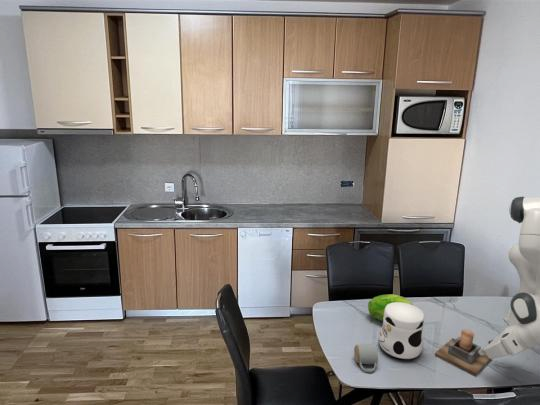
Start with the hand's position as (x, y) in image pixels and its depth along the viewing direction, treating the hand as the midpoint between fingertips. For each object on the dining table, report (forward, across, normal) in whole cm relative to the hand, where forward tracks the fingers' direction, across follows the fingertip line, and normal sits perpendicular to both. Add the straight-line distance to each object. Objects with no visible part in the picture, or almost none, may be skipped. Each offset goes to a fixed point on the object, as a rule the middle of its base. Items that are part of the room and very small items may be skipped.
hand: (484, 347), depth 152 cm
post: (+10, 0, 0) cm, 10 cm away
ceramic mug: (+27, +34, -15) cm, 46 cm away
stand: (+11, 0, +1) cm, 11 cm away
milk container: (+25, +16, -12) cm, 32 cm away
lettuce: (+36, -2, -24) cm, 43 cm away
